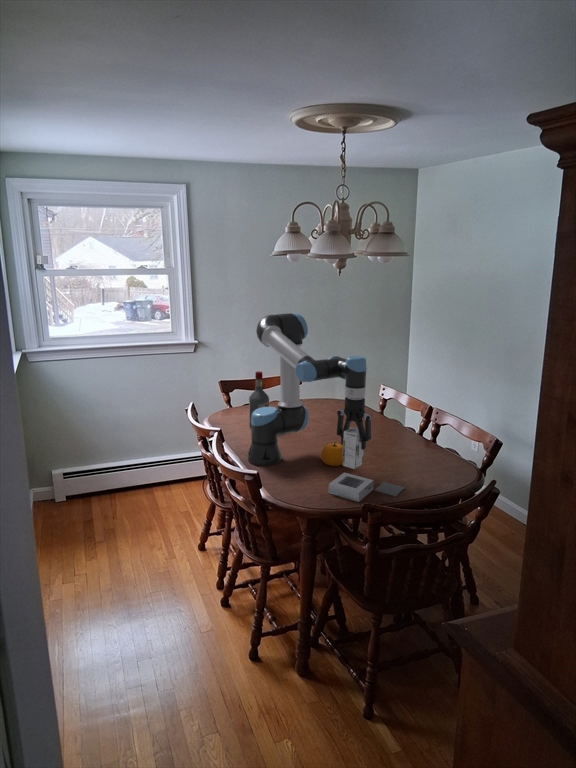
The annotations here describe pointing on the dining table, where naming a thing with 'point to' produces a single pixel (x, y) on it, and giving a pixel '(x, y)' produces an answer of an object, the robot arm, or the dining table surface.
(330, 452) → the fruit
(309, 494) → the dining table surface
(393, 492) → the mat
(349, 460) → the syrup box
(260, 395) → the liquor
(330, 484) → the block
